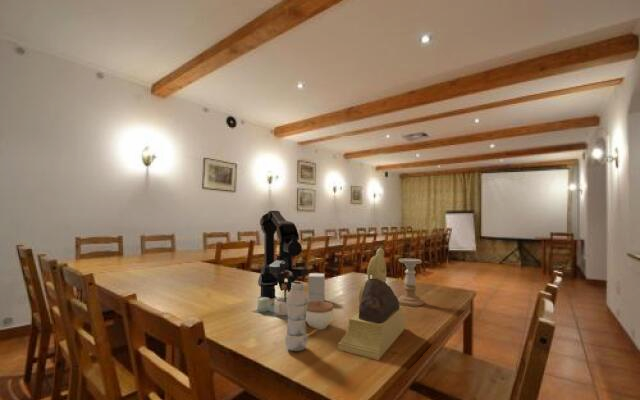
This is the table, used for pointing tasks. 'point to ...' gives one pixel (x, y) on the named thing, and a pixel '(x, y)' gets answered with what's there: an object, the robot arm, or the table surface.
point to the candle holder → (410, 284)
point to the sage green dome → (263, 305)
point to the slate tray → (272, 313)
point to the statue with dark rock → (374, 315)
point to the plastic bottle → (296, 318)
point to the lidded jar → (319, 314)
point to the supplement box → (316, 287)
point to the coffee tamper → (284, 287)
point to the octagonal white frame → (280, 306)
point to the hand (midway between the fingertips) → (285, 291)
